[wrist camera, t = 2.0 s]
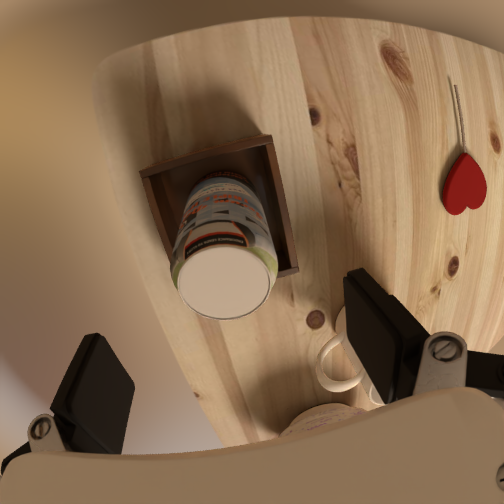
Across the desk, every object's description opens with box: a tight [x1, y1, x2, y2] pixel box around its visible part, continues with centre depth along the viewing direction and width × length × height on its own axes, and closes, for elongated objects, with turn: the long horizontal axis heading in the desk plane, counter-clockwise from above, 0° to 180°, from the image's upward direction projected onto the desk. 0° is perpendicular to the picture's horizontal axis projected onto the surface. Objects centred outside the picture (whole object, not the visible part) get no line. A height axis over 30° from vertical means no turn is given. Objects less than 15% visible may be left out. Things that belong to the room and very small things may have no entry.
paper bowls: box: [278, 403, 368, 438], centre depth 37 cm, size 15×15×8 cm
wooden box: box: [139, 134, 299, 278], centre depth 24 cm, size 11×10×4 cm
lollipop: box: [443, 85, 487, 215], centre depth 25 cm, size 8×1×15 cm
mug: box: [316, 306, 385, 405], centre depth 27 cm, size 12×8×10 cm, turn 90°
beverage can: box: [170, 171, 278, 321], centre depth 20 cm, size 6×7×12 cm
